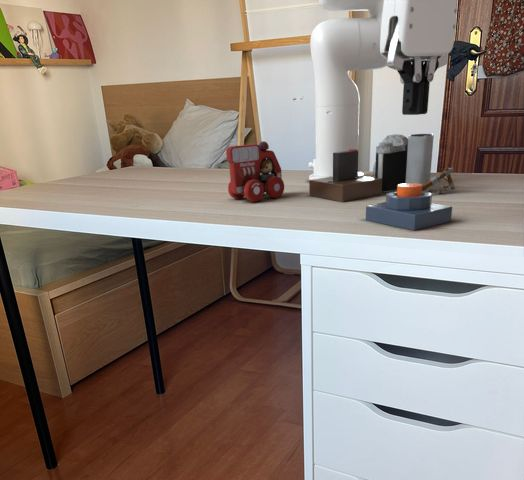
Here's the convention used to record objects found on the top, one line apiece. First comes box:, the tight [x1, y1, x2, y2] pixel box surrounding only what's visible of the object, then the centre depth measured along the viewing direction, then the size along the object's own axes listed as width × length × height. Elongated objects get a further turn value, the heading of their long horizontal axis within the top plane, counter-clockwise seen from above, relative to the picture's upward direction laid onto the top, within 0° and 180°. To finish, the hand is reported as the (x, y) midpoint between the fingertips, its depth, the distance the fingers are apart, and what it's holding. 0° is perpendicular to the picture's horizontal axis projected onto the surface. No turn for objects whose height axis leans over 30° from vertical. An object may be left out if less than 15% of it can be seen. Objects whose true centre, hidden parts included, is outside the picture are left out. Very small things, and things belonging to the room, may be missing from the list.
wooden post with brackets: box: [422, 167, 456, 194], centre depth 99 cm, size 2×8×4 cm, turn 106°
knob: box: [333, 149, 359, 181], centre depth 101 cm, size 5×2×5 cm, turn 123°
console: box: [308, 175, 383, 203], centre depth 103 cm, size 10×10×3 cm
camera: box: [372, 133, 408, 193], centre depth 108 cm, size 15×7×10 cm, turn 131°
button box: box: [365, 190, 453, 231], centre depth 80 cm, size 10×8×4 cm
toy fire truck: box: [225, 141, 285, 203], centre depth 103 cm, size 7×12×10 cm, turn 128°
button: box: [396, 183, 422, 197], centre depth 79 cm, size 4×4×2 cm
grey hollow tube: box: [406, 133, 435, 192], centre depth 101 cm, size 4×4×10 cm
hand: (414, 113), depth 75 cm, fingers closed
